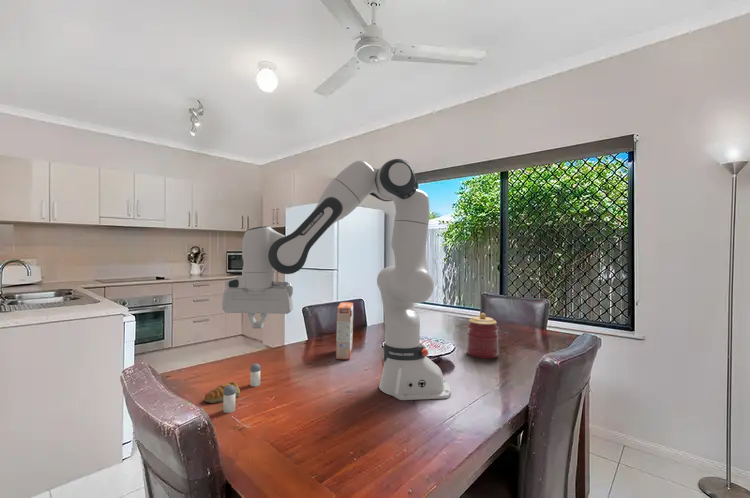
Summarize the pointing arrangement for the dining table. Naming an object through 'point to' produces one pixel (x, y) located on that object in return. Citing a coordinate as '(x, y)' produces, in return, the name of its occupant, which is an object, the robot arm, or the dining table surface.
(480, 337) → the canister
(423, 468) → the dining table surface
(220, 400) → the pastry
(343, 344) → the cracker box
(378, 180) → the robot arm
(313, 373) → the dining table surface
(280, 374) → the dining table surface
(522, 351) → the dining table surface
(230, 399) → the posts
